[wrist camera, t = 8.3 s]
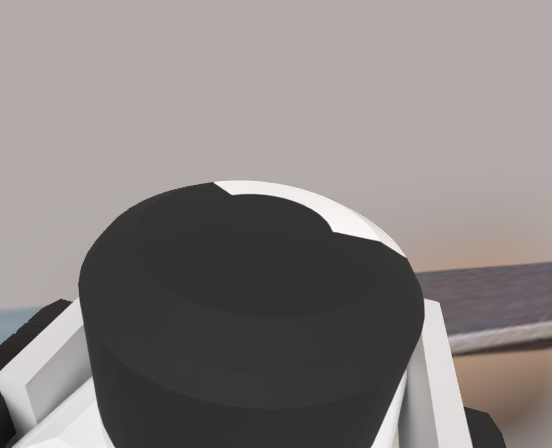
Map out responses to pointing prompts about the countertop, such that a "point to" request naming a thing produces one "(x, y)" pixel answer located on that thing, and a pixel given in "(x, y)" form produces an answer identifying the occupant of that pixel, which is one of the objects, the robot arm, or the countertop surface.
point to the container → (241, 326)
